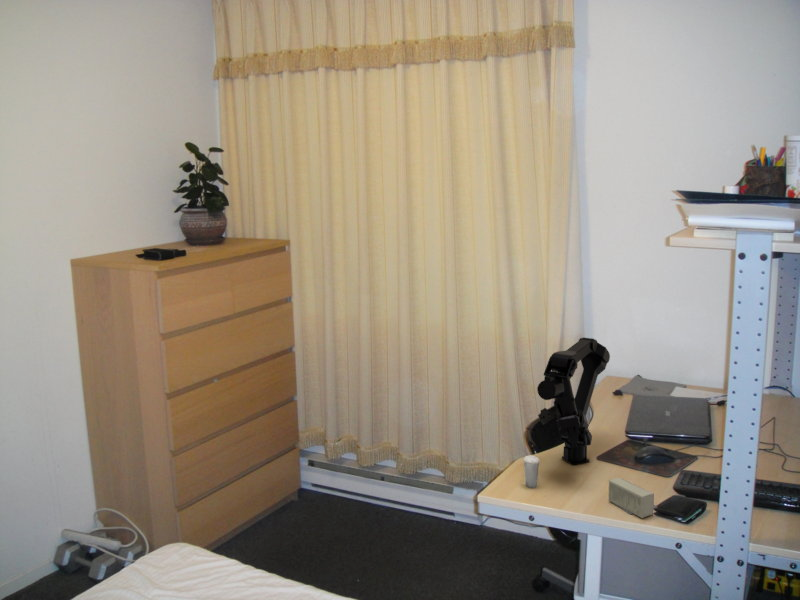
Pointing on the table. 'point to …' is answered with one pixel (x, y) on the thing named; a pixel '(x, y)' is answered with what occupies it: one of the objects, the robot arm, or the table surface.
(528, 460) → the milkshake
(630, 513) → the felt pad
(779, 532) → the table surface
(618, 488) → the skincare box
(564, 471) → the table surface
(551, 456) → the table surface
